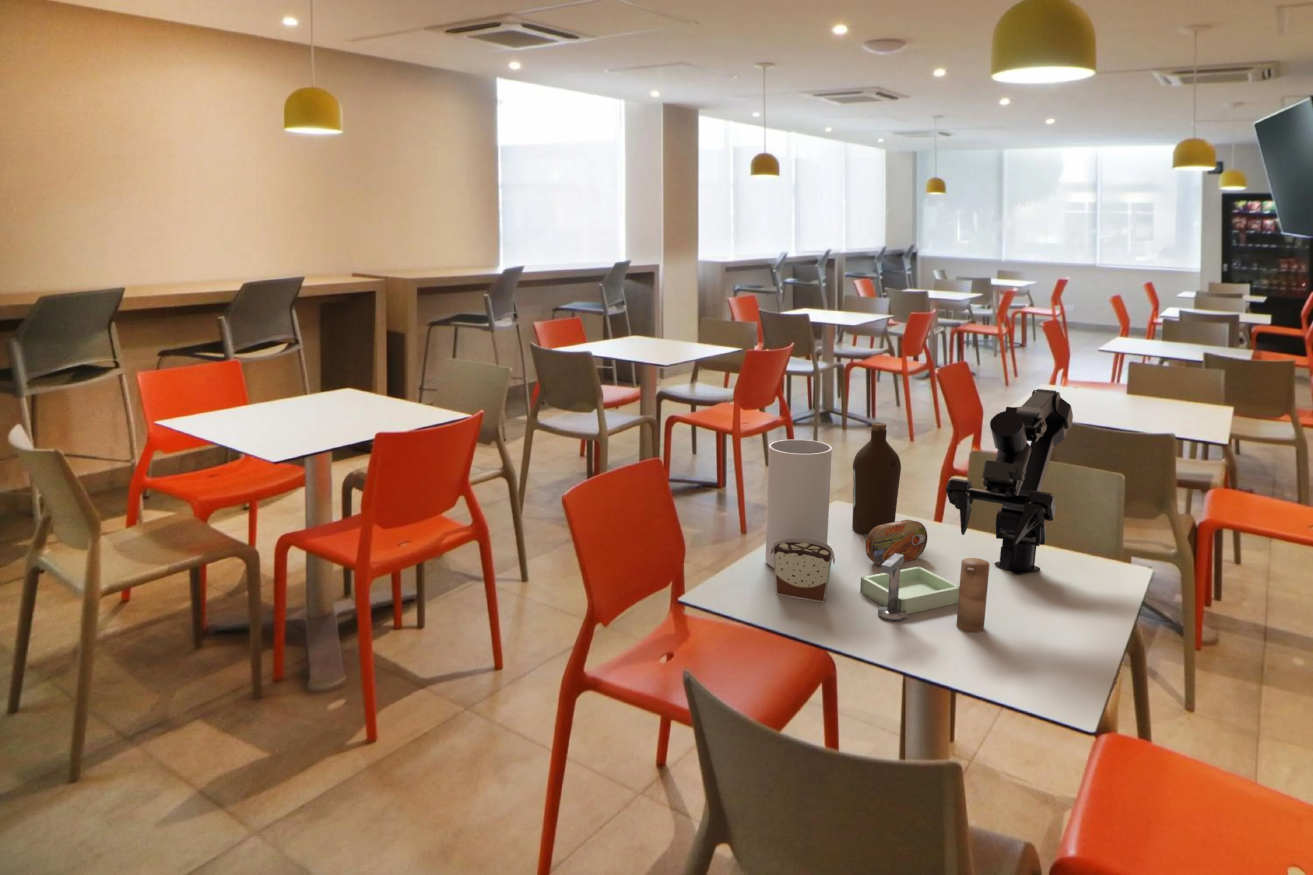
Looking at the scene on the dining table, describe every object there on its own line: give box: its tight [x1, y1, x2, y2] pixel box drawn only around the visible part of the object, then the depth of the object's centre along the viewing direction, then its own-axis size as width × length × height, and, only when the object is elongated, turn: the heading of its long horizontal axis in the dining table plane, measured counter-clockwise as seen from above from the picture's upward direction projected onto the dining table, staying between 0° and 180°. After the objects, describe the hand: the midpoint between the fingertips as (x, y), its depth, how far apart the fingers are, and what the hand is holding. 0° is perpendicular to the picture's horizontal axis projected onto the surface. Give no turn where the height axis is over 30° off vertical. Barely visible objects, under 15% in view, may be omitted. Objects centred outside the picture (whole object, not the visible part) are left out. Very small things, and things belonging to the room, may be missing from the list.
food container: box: [770, 539, 836, 604], centre depth 180 cm, size 12×6×10 cm, turn 65°
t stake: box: [877, 553, 908, 622], centre depth 169 cm, size 8×5×11 cm, turn 146°
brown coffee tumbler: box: [955, 557, 990, 634], centre depth 165 cm, size 6×5×12 cm
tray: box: [859, 566, 960, 615], centre depth 179 cm, size 14×12×3 cm
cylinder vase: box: [765, 438, 833, 569], centre depth 194 cm, size 12×12×25 cm
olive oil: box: [851, 422, 902, 536], centre depth 215 cm, size 11×11×25 cm
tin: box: [865, 519, 928, 566], centre depth 198 cm, size 15×3×8 cm, turn 117°
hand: (988, 538), depth 171 cm, fingers open, 9 cm apart
